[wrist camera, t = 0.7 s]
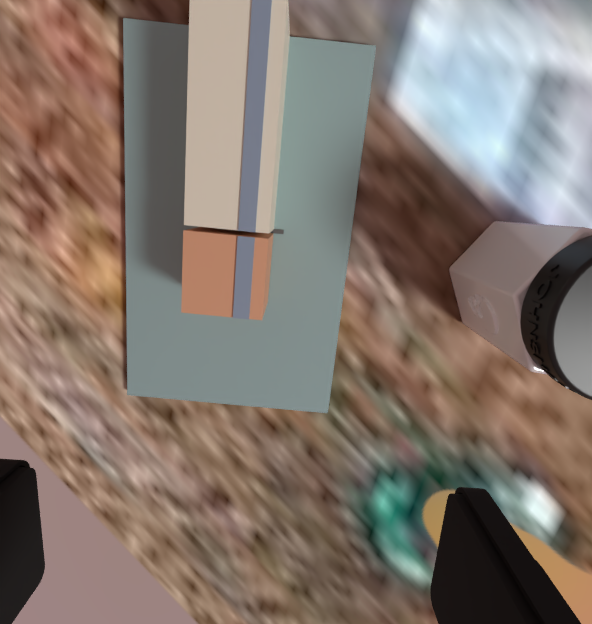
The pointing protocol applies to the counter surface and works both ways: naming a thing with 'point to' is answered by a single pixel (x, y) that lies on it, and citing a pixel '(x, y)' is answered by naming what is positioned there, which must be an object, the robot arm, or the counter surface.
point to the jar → (532, 297)
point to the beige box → (235, 112)
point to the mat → (287, 232)
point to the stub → (226, 272)
